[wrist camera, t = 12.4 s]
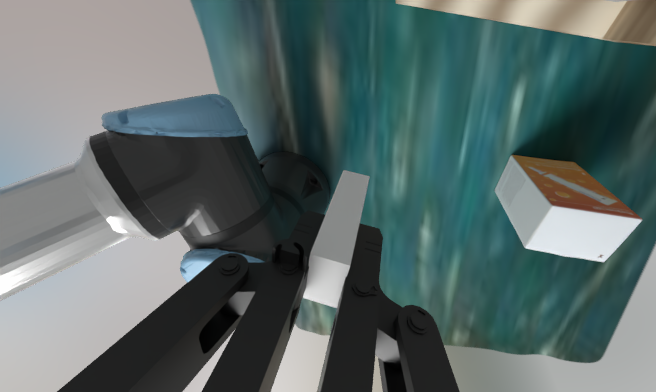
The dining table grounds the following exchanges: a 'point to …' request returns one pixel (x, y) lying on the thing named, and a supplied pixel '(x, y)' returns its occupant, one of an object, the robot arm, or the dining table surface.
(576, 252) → the small box
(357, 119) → the dining table surface
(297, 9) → the dining table surface
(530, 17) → the jig
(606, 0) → the carriage
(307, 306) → the dining table surface
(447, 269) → the dining table surface
